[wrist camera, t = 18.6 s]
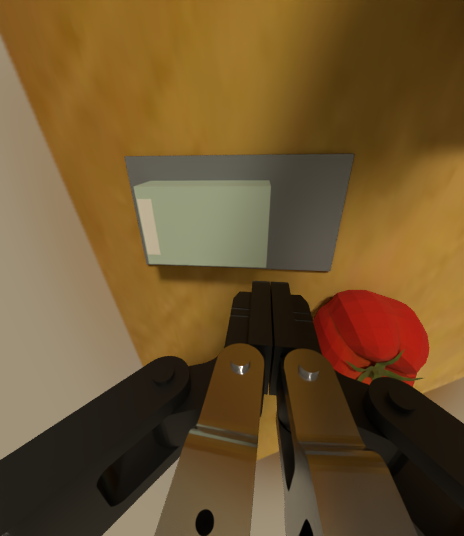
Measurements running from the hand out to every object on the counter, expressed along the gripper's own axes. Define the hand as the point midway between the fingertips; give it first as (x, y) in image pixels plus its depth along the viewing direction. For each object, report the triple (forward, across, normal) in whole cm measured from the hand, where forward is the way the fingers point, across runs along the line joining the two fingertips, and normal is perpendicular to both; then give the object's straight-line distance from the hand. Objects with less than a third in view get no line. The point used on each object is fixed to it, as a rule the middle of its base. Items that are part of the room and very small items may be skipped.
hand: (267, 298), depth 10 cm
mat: (+14, +3, +1) cm, 15 cm away
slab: (+12, 0, +1) cm, 12 cm away
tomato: (+14, -10, +12) cm, 21 cm away
